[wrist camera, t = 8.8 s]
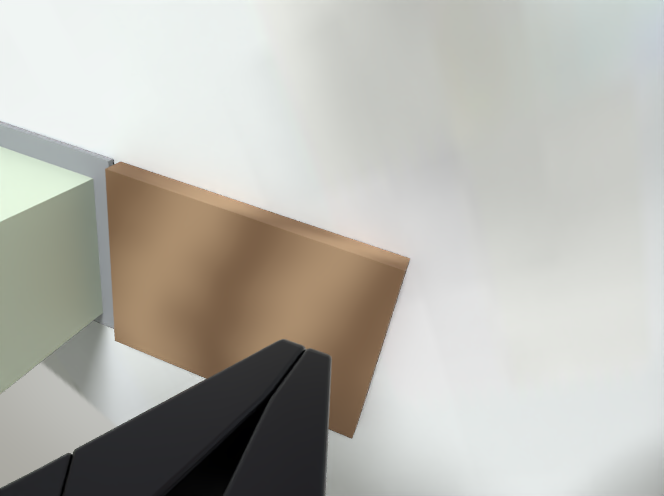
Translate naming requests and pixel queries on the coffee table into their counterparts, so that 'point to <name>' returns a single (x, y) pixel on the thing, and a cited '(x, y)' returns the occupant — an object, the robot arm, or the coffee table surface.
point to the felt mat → (81, 164)
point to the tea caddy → (44, 261)
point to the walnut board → (243, 284)
